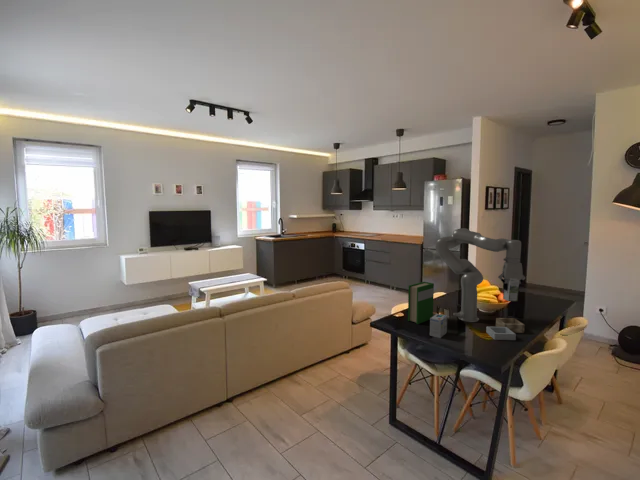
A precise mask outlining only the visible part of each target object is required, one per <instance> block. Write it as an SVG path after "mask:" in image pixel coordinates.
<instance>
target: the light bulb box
mask: <svg viewBox="0 0 640 480" xmlns="http://www.w3.org/2000/svg"><path fill="white" fill-rule="evenodd" d="M447 331H448V315H447V314H440V313H435V314H433V317H431V318H430V320H429V336H431V337H435V338H437V339H441V338H442V337H444V336H445V335H446V334H447Z"/></svg>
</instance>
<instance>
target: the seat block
mask: <svg viewBox="0 0 640 480" xmlns="http://www.w3.org/2000/svg"><path fill="white" fill-rule="evenodd" d="M485 331H486V332H485V333H486V334H488V336H490V337H491V338H492V339H493V340H494V341H516V340H517V333H514V332H512V331H511V330H510V329H508V328H507V327H497V326H486V330H485Z"/></svg>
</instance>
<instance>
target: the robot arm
mask: <svg viewBox="0 0 640 480" xmlns="http://www.w3.org/2000/svg"><path fill="white" fill-rule="evenodd" d="M463 243H464V244H469V245H472V246H474V247H477V248H480V249H483V250H486V251H490V252H495V253H496V252H497V253H498V252H504V251H505V258H503V259H502V260H503V261H504V263H503V266H502V271H501V273H500V274H499V275H498V277H497V278H498V279H499V280H500V281H501V282H502V284H503V285H502V288H503V291H504V290H507V281H508V280H509V279H510V278H513V279H518V280H519V289H518V292H519V290H520V286H521V284H522V282H524V280H526V278H527V277H526V276H525V275H524V274H523V272H524V271H523V265H522V264H523V263H521V255H522V253H521V252H522V241H521V240H518V239H506V238H496V239H495V238H490V237H487V236H484V235H482V234H481V233H480V232H477V231H472V230H470V229H469V228H466V227H464V228H463V227H461V228H457V229H455V230H454V231H453V233H452V235H449V236H442V237H440V238H439V239H437V241H436V242H435V251H436V254H437V255H438V257H440V258H441V260H442V261H444V263H445V264H446V265H447V266H448V267H449V269H450V270H452V272H454V274H456V275H461V274H463V275H462V276H461V279H460V286H461V305H460V306H461V308H460V311H459V312H453V316H456V317H458V319H459V320H461V321H462V322H468V323H478V322H479V321H480V318H479V317H478V316H477V311H478V309H477V308H478V289H477V285H480V284H482V282H484V281H483V280H484V275H483V274H482V272H481V271H479V269H478V268H477V267H476V266H475V265H474V264H473V263H472V262H471V261H470V260H468V259H466V258H459V256H457V255H456V254H455V253H454V252H453V251H452V250H450V249H454V248H456V247H458V246H459V245H461V244H463Z"/></svg>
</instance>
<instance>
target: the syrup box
mask: <svg viewBox="0 0 640 480" xmlns="http://www.w3.org/2000/svg"><path fill="white" fill-rule="evenodd" d="M518 289H519V290H520V287H519V280H518V279H513V278H510V279H509V280H508V281H507V290H504V289H503V297H502V298H503V300H505V301H507V302H518V301H519V300H518V299H519V291H518Z"/></svg>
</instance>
